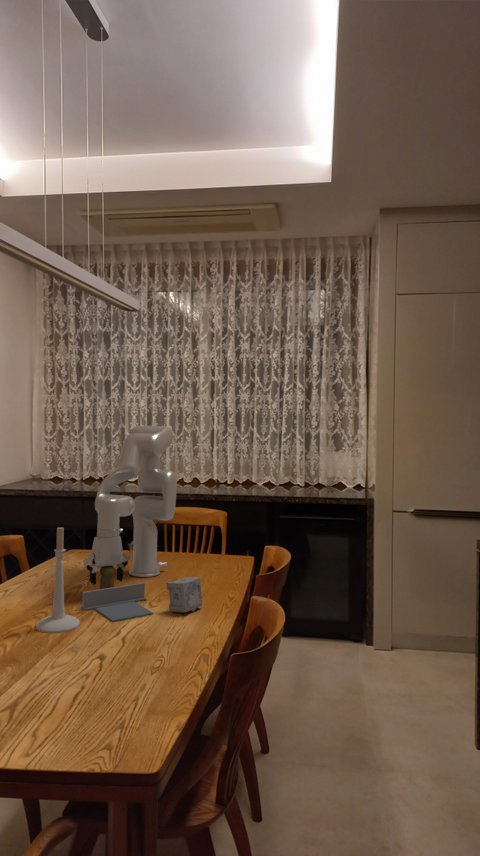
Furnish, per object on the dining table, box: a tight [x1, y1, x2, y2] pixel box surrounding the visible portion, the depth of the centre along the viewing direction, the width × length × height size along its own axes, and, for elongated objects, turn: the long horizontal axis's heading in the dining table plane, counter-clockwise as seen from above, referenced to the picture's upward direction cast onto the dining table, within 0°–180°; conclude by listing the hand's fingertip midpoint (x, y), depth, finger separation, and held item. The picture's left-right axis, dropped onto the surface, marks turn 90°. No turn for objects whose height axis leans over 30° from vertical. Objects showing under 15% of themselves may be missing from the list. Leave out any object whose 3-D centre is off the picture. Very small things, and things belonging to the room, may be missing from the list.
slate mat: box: [94, 601, 154, 623], centre depth 194 cm, size 14×14×1 cm
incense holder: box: [166, 576, 203, 613], centre depth 198 cm, size 10×8×10 cm
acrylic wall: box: [80, 582, 147, 612], centre depth 202 cm, size 22×4×6 cm, turn 126°
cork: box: [98, 565, 116, 590], centre depth 210 cm, size 6×6×11 cm
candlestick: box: [35, 526, 81, 634], centre depth 180 cm, size 13×13×30 cm
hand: (106, 581), depth 209 cm, fingers open, 9 cm apart
